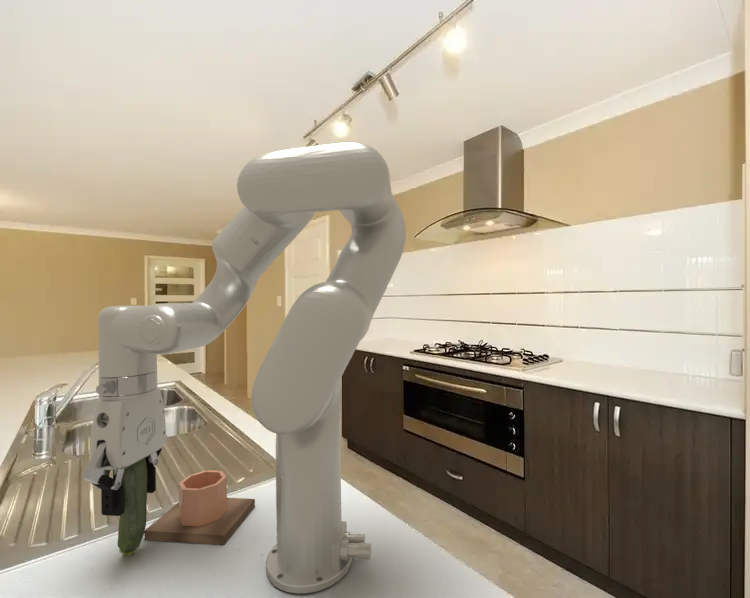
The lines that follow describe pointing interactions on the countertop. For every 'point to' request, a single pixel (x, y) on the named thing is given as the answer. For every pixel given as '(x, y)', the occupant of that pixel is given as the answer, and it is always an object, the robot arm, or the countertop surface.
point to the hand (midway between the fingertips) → (130, 501)
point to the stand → (205, 534)
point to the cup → (202, 498)
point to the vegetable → (133, 508)
